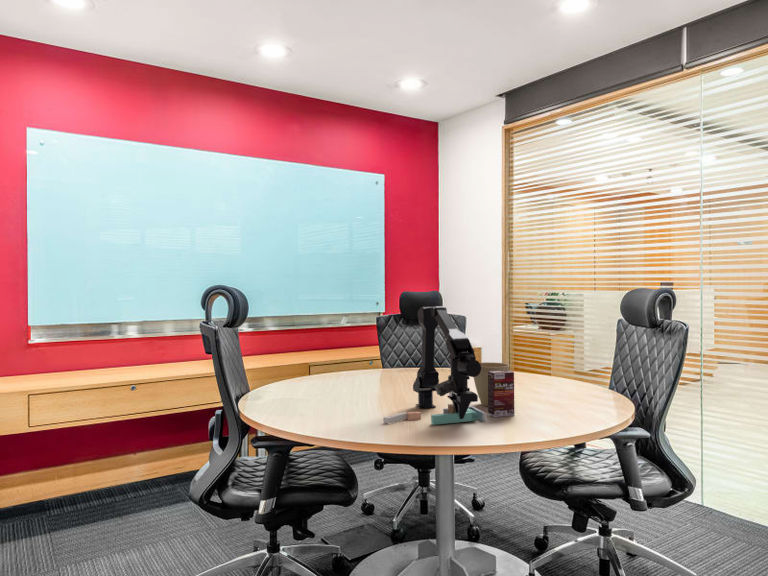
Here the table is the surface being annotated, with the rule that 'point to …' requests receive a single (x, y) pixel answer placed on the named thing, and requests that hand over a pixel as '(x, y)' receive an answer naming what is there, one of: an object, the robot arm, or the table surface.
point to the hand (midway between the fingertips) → (459, 418)
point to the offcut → (413, 415)
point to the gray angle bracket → (479, 413)
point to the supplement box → (501, 393)
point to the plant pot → (482, 379)
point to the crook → (453, 417)
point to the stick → (395, 418)
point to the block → (451, 408)
